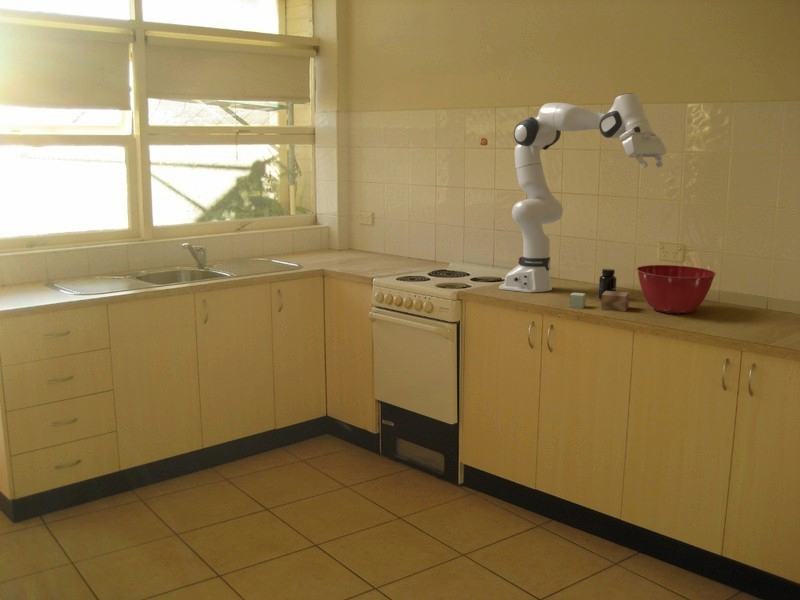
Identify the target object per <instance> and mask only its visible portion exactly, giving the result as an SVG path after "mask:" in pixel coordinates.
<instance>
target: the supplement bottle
mask: <svg viewBox="0 0 800 600" xmlns="http://www.w3.org/2000/svg"><path fill="white" fill-rule="evenodd" d="M615 272H616V271H615V269H614V268H602V272H601V274H602V275H600V276H599V278H598V294H597V296H598V298H599V299H600V300H601V298H602V294H603V293H604V292H605V291H616V292H617V276H615Z"/></svg>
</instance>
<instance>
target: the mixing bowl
mask: <svg viewBox="0 0 800 600" xmlns="http://www.w3.org/2000/svg"><path fill="white" fill-rule="evenodd" d="M636 270H637V273H638V274H637V275H638V279H639V280H638V281H639V284H640V287H641V291H642V293H643V297H644V298H645V300H646V302H647V304H648V305H649V306H650V307H651V308H653V309H654V310H655V311H657V312H660V313H664V312H665V313H666V314H673V313H677V314H679V315H680V313H685V314H689V313H692V312H694V311H695V310H697V309H698V308H700V306H701V304H702V303H703V302H704V300H705V298H706V297H707V295H708V293H709V291H710V289H711V286H712V283H713V281H714V278H715V276H716V275H717V273H716V272H715V271H713V270H710V269H707V268H702V267H701V268H700V267H694V266H686V265H672V264H671V265H670V264H650V265H642V266H638V267H637V268H636ZM665 313H664V314H665Z"/></svg>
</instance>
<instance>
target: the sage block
mask: <svg viewBox="0 0 800 600" xmlns="http://www.w3.org/2000/svg"><path fill="white" fill-rule="evenodd" d="M585 305H586V293H583V292H572V293H570V294H569V306H568V307H569V308H572V307H574V308H575V309H583V308H584V307H585Z"/></svg>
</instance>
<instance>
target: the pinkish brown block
mask: <svg viewBox="0 0 800 600" xmlns="http://www.w3.org/2000/svg"><path fill="white" fill-rule="evenodd" d="M600 300H601V302H600V304H601V305H600V310H601V309H602V310H601V311H610V310H616V311H615V312H623V311H625V312H626V311H627V310H626V309H628V308H629V304H630V303H629V301H630V292H627V291H617V290H616V291H605V292H604V293H603V294H602V298H601V299H600Z"/></svg>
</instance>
